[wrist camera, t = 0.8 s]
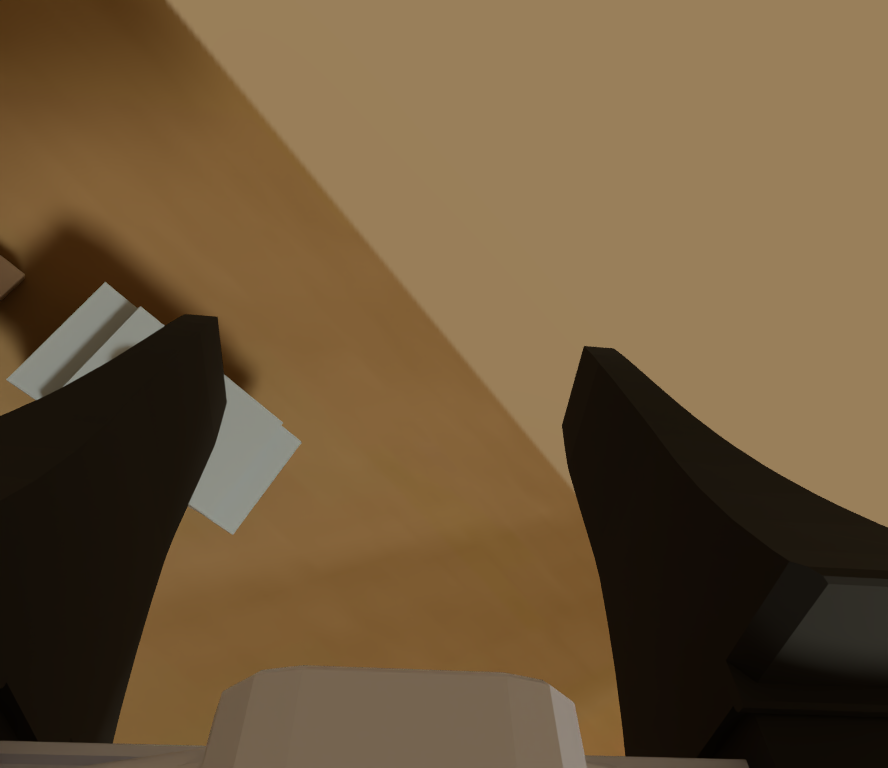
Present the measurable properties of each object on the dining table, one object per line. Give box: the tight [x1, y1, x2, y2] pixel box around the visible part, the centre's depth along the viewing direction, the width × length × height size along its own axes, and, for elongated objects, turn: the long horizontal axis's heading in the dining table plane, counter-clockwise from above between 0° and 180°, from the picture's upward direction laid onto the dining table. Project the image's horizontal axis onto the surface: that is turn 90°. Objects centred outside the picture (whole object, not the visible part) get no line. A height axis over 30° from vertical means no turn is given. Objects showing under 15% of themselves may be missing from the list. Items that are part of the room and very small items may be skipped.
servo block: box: [6, 282, 301, 535], centre depth 22 cm, size 4×8×5 cm, turn 50°
